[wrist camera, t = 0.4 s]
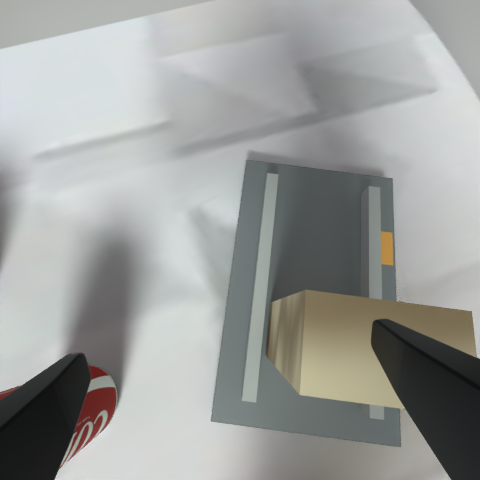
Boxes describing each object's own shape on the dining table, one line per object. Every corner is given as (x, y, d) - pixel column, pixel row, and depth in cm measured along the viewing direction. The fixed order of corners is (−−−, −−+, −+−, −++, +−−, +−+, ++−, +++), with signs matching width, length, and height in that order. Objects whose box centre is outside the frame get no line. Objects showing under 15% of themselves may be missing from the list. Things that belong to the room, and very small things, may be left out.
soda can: (104, 351, 22) (-33, 388, 11) (130, 413, 21) (8, 529, 10) (42, 387, 21) (-178, 469, 10) (66, 453, 20) (-153, 634, 9)
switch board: (389, 438, 21) (414, 457, 18) (212, 414, 21) (208, 429, 18) (383, 185, 27) (402, 170, 24) (245, 168, 27) (247, 150, 24)
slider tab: (355, 367, 21) (483, 419, 10) (265, 355, 21) (299, 394, 10) (355, 313, 22) (471, 311, 11) (270, 302, 22) (306, 289, 11)
